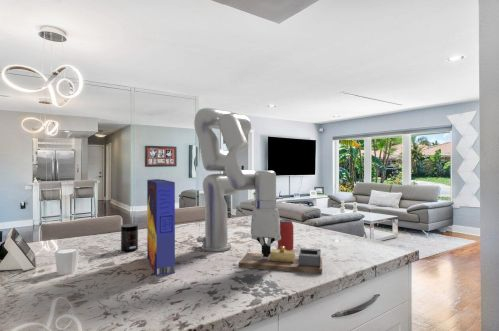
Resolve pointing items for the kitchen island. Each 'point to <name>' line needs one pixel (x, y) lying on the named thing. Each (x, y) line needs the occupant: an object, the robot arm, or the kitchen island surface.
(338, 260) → the kitchen island surface
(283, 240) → the beer can
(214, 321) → the kitchen island surface
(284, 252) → the bolt
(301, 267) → the door panel
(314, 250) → the keeper
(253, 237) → the robot arm
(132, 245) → the supplement container
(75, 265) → the white cup
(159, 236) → the cereal box
